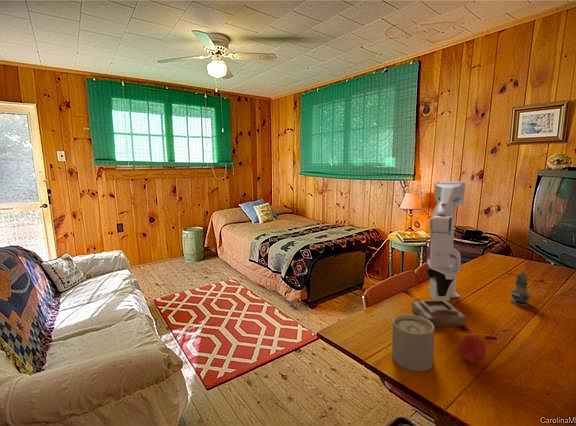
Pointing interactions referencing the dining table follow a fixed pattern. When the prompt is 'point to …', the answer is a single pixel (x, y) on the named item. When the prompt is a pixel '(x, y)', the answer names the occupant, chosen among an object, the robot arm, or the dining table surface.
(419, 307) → the taupe stepped square slab
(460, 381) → the dining table surface
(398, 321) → the grey can
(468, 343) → the onion
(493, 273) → the dining table surface
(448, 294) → the block
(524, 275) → the salt shaker
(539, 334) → the dining table surface
